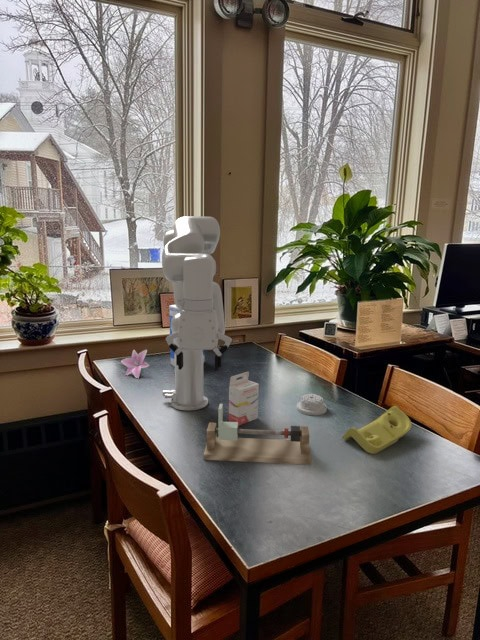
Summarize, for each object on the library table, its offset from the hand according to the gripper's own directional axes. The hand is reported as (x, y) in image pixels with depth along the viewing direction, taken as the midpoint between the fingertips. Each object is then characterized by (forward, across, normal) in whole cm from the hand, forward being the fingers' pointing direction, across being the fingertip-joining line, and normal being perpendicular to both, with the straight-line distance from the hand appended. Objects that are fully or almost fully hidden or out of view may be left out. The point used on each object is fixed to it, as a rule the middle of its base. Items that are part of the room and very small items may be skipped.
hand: (198, 368), depth 124 cm
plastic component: (+23, +51, +10) cm, 57 cm away
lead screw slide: (+23, +16, -1) cm, 28 cm away
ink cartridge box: (+23, +11, +19) cm, 32 cm away
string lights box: (+22, -16, +72) cm, 77 cm away
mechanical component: (+23, +33, +30) cm, 50 cm away
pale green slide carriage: (+19, +8, -1) cm, 20 cm away
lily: (+22, -34, +56) cm, 70 cm away
